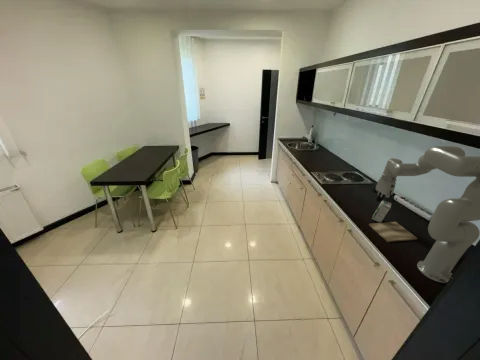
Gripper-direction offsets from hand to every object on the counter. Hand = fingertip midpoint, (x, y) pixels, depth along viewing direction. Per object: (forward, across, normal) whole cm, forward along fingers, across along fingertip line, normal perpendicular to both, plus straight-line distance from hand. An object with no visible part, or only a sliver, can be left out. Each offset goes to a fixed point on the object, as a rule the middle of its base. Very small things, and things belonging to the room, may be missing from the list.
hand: (379, 201), depth 136 cm
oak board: (+13, -17, 0) cm, 21 cm away
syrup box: (+13, -4, 0) cm, 13 cm away
